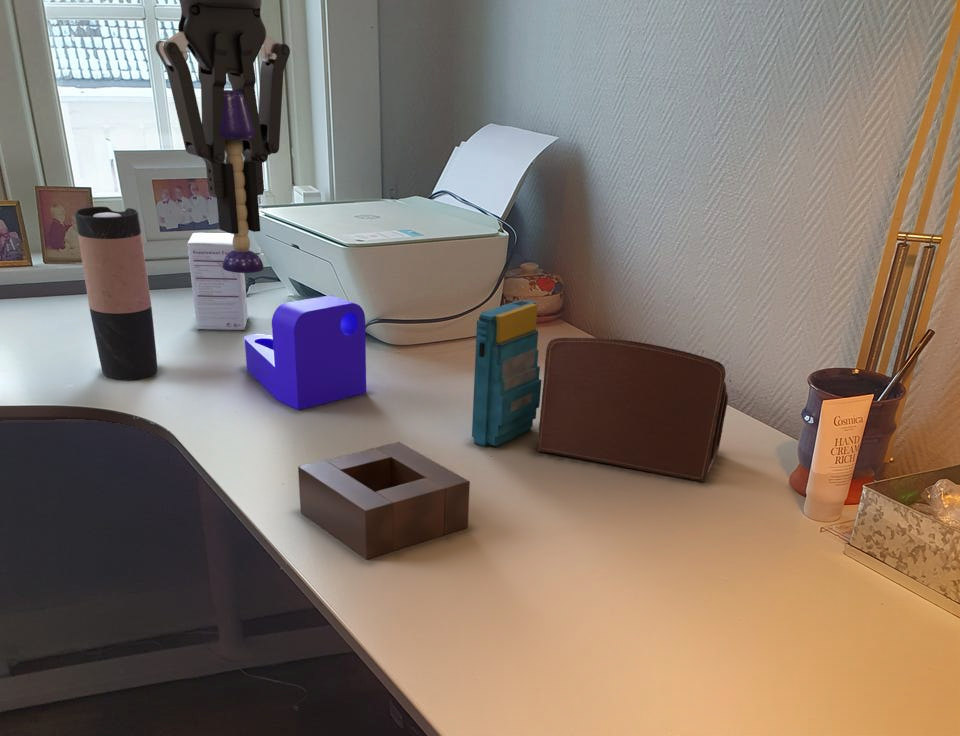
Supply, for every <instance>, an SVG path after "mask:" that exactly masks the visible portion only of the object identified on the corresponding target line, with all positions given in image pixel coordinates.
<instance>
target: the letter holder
mask: <svg viewBox="0 0 960 736" xmlns="http://www.w3.org/2000/svg"><path fill="white" fill-rule="evenodd" d="M725 381H726V369H725V366H724V365H723V363H721V362H720V361H717V360H714V359H712V358H708V357H705V356H703V355H699V354H697V353H692V352H688V351H684V350H680V349H677V348H672V347H666V346H661V345H657V344H652V343H646V342H641V341H633V340H627V339H617V338H604V337H603V338H602V337H557V338H556V337H555V338H553V339H551V340H550V341H549V342H548V344H547V346H546V350H545V359H544V373H543V384H542V393H541V403H540V404H541V405H540V414H539V415H540V416H539V423H538V424H539V425H538V426H539V427H538V437H537V443H536V445H537V452H539V453H543V454H550V455H556V456H562V457H567V458H574V459H579V460H584V461H589V462H594V463H595V462H596V463H600V464H606V465H611V466H616V467H621V468H625V469H631V470H636V471H643V472H648V473H652V474H657V475H663V476H669V477H674V478H679V479H685V480H690V481H697V482H701V483H705V482H706V480H707V478H708V476H709V473H710V471H711V469H712V467H713V464H714V463H715V460H716V458H717V455H718V453H719V450H720V445H721V440H722V434H723V428H724V422H725V417H726V412H727V407H728V403H729V393H728V391H727V389H728V388H727V383H726V382H725Z"/></svg>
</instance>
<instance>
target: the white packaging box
mask: <svg viewBox="0 0 960 736" xmlns="http://www.w3.org/2000/svg"><path fill="white" fill-rule="evenodd" d="M233 236H234V235H233V234H230V233H228V232H224V233H223V232H222V233H221V232H214V233H213V232H193V233H192V235H191V236H190V237H189V240H188V241H187V244H186V245H187V253H188V260H189V270H190V280H191V289H192V299H193V306H194V307H193V308H194V314H195V323H196V329H198V330H223V331H224V330H225V331H229V330H230V331H243V330H245V329H246V325H247V321H248V317H249V312H248V300H247V291H246V290H247V288H246V279H245V273H235V272H229V271H226V270H224V269H223V261H224V258H225V256H226V255H227V254H228V253H229V252H231V251H233V250H235V249H234V247H233Z"/></svg>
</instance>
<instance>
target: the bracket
mask: <svg viewBox="0 0 960 736" xmlns="http://www.w3.org/2000/svg"><path fill="white" fill-rule="evenodd" d="M271 332H272V335H270V334H265V333H253V334H248V335H245V336H244V337H243V339H244V350H245V351H244V352H245V364H246V371H247V372H248V373H249V374H250V375H251V376H252V377H253V378H254V379H255V380H256V381H257V382H258V383H259V384H260V385H261V386H262V387H263V388H264V389H265V390H266V391H267V392H268V393H269V394H270V395H271V396H272V397H273V398H274V399H275V400H276V401H277V402H279V403H282V404H284V405H286V406H289V407H290V408H293V409H294V410H297V411H301V410H305V409H308V408H312V407H316V406H320V405H324V404H328V403H332V402H336V401H339V400H340V401H341V400H344V399H348V398H351V397H356V396H358V395H363V394H367V357H366V356H367V354H366V353H367V349H366V348H367V347H366V345H367V344H366V343H367V341H366V314H365V311H364V309H363V308H362V306H361V305H360V304H357V303H356V302H352V301H349V300H346V299H344V298H340V297H338V296H335V295H326V296H318V297H313V298H308V299H300V300H296V301H290V302H289V301H288V302H284V303H282V304H280V305H279V306H278V307H277V308H276V309H275V311H274V312H273V314H272V318H271Z"/></svg>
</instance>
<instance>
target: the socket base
mask: <svg viewBox="0 0 960 736" xmlns="http://www.w3.org/2000/svg"><path fill="white" fill-rule="evenodd" d="M297 474H298V475H297V476H298V489H299V490H298V492H299V509H300V514H302V515H303V516H305V517H306V518H307V519H309V520H310V521H311V522H313V523H314V524H316V525H317V526H319V527H320V528H321V529H323V530H324V531H325V532H327V533H328V534H330V535H331V536H332V537H334V538H336V539H337V540H338V541H340V542H341V543H342V544H344V545H345V546H347V547H348V548H350V549H351V550H352V551H354V552H355V553H356V554H358V555H359V556H361V557H362V558H363V559H364V560H369V559H373V558H376V557H380V556H382V555H386V554H389V553H391V552H394V551H398V550H401V549H404V548H408V547H411V546H413V545H416V544H420V543H423V542H426V541H427V542H428V541H430V540H433V539H436V538H439V537H442V536H445V535H448V534H452V533H454V532H458V531H461V530H465V529H468V528H469V510H470V509H469V508H470V487H471V485H470V484H471V482H470V480H469V479H467V478H464V477H463V476H461V475H459V474H457V473H455V472H454V471H452V470H450V469H448V468H447V467H445V466H443V465H441V464H439V463H438V462H436V461H434V460H433V459H430V458H429V457H427V456H425V455H423V454H421V453H420V452H418V451H416V450H414V449H413V448H411V447H409V446H407V445H405V444H403V443H402V442H400V441H397V442H392V443H388V444H385V445H384V444H383V445H380V446H376V447H372V448H368V449H363V450H360V451H356V452H351V453H346V454H343V455H339V456H335V457H331V458H327V459H323V460H318V461H315V462H310V463H306V464H302V465H298V466H297Z"/></svg>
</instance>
